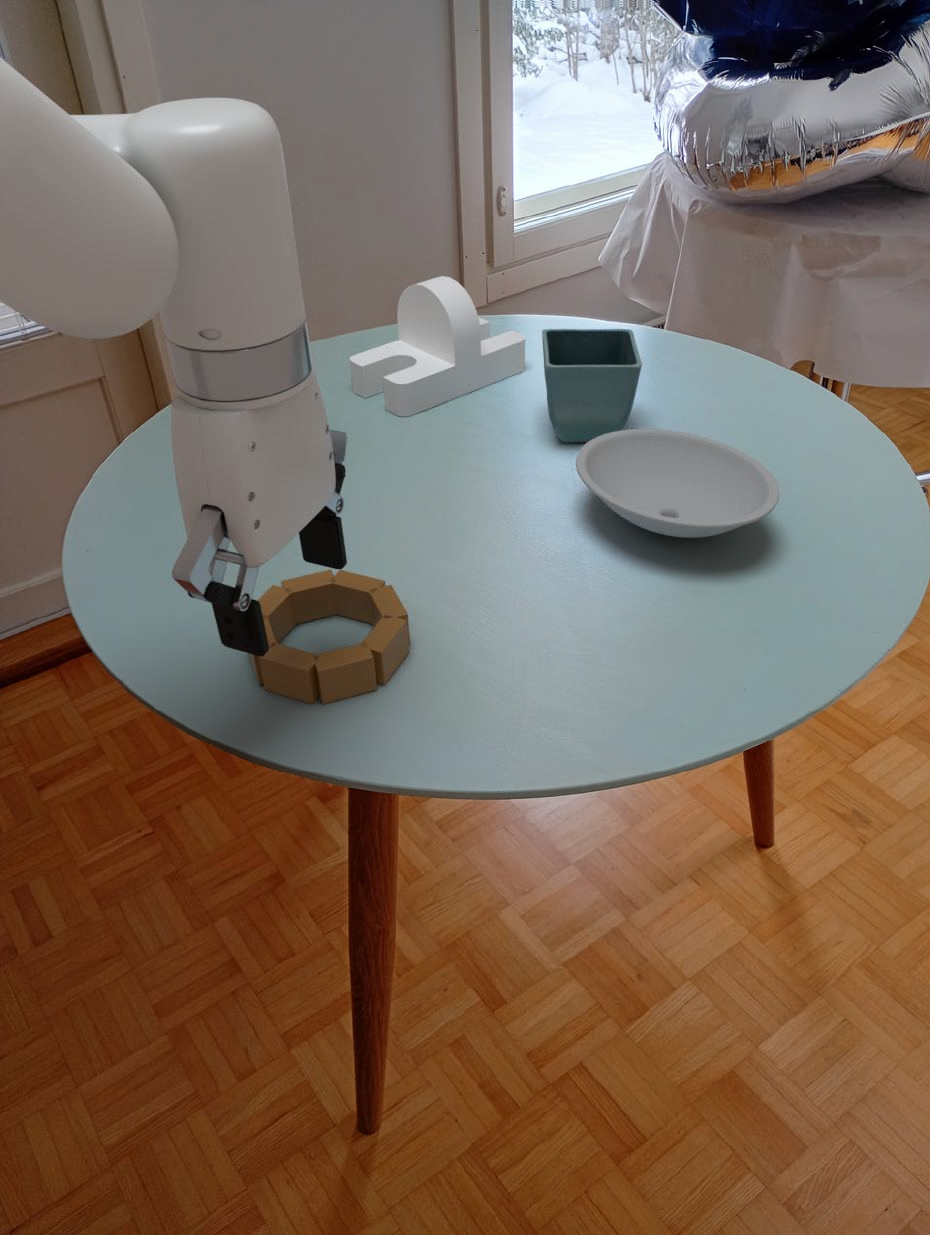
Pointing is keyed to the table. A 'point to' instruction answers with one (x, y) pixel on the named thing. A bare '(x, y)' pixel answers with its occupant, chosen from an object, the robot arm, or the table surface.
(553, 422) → the flower pot
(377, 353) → the white slotted bracket
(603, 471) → the dish
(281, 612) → the segmented block ring
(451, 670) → the table surface
